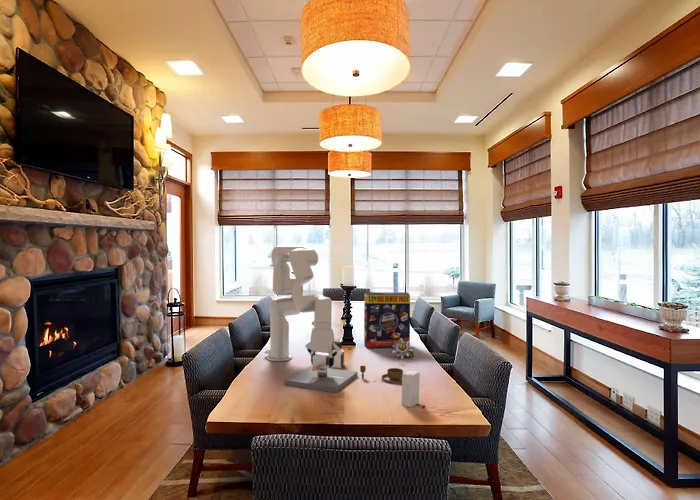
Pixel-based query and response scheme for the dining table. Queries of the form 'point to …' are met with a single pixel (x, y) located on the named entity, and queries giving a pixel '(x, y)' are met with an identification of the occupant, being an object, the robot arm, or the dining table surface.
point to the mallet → (320, 361)
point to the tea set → (388, 375)
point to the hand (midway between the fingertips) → (322, 364)
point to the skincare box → (410, 388)
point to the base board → (321, 379)
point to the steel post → (322, 372)
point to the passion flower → (402, 348)
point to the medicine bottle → (338, 356)
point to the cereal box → (386, 318)
